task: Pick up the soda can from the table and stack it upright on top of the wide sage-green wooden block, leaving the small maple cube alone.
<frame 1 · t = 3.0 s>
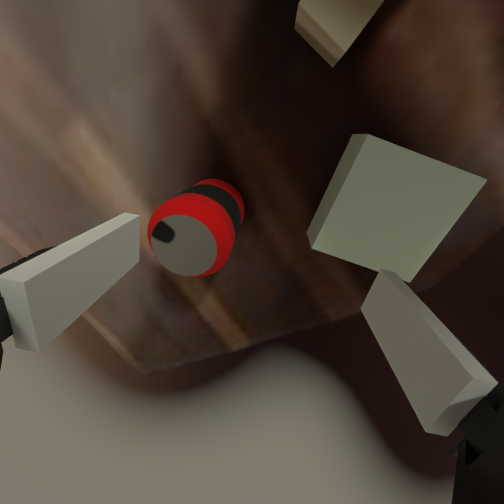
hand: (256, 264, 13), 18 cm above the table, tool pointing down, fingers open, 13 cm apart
green block: (373, 204, 29), on the table
maple cube: (332, 21, 23), on the table
soda can: (216, 207, 31), on the table
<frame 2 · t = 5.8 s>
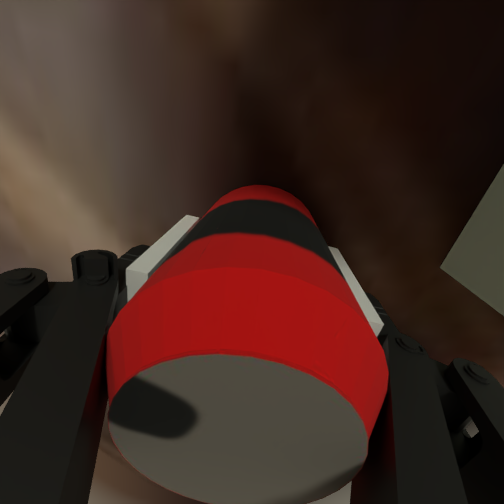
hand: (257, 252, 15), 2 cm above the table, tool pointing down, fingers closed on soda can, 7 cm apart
soda can: (258, 240, 16), on the table, touching gripper
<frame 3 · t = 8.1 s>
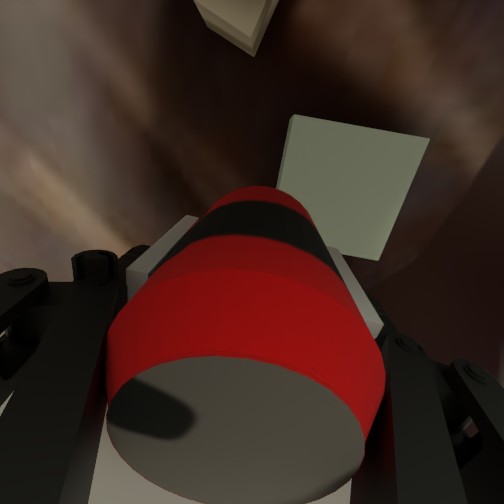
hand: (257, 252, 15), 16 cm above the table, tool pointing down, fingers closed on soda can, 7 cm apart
green block: (329, 186, 28), on the table
maple cube: (243, 12, 22), on the table
soda can: (258, 241, 16), point 14 cm above the table, touching gripper
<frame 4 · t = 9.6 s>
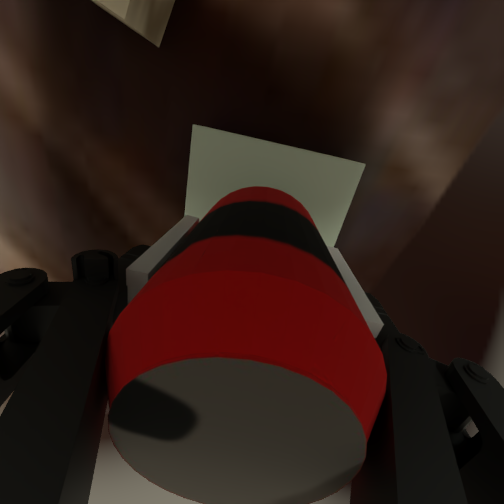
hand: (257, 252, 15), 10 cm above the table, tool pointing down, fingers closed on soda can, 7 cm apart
green block: (262, 209, 24), on the table
soda can: (258, 241, 16), point 8 cm above the table, touching gripper
when the fingers open (7 cm above the table, at t = 10.6 s): soda can stays where it is, resting on green block.
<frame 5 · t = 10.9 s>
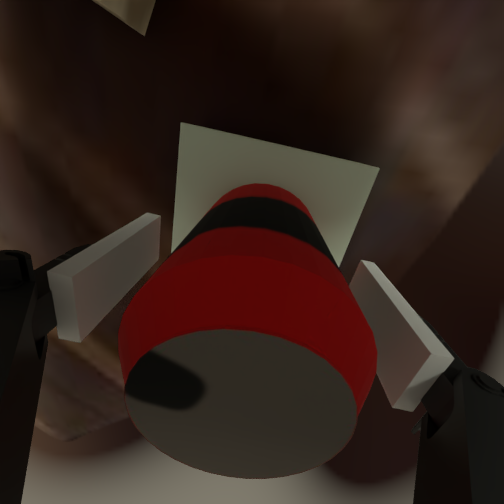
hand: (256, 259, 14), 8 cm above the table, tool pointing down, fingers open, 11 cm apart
green block: (261, 217, 21), on the table
soda can: (259, 237, 17), point 5 cm above the table, touching green block
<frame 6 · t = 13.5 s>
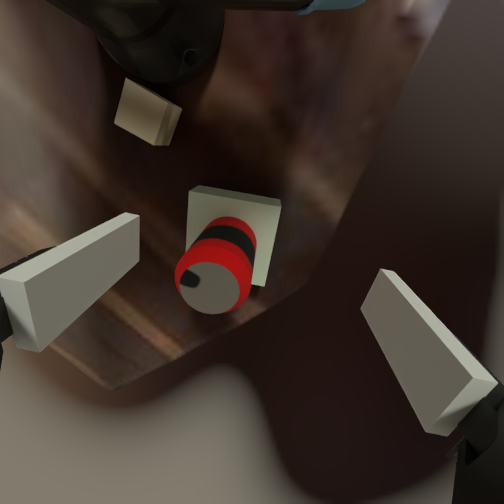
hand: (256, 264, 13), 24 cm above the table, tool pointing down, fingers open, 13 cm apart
green block: (234, 230, 38), on the table
maple cube: (158, 117, 33), on the table
soda can: (229, 241, 34), point 5 cm above the table, touching green block
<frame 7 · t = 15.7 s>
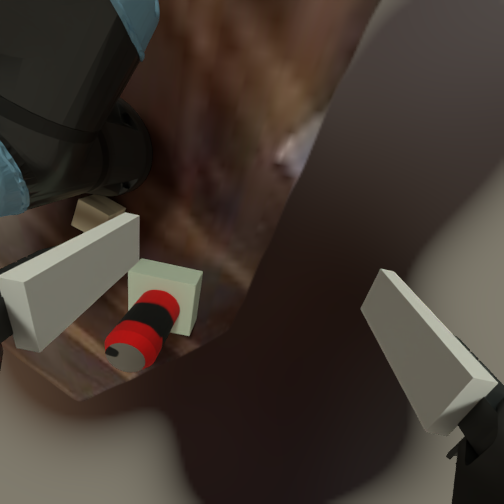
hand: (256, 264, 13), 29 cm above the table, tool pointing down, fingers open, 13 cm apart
green block: (170, 290, 50), on the table
maple cube: (108, 212, 44), on the table
soda can: (160, 304, 45), point 5 cm above the table, touching green block
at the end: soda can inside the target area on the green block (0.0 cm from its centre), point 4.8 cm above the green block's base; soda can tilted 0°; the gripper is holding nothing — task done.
